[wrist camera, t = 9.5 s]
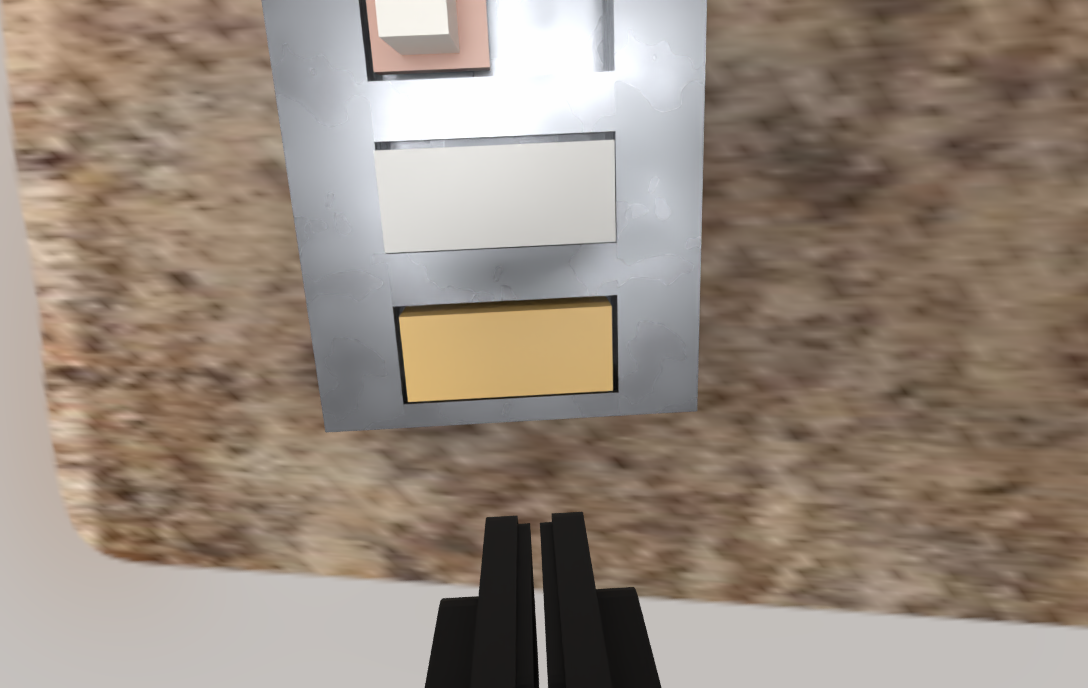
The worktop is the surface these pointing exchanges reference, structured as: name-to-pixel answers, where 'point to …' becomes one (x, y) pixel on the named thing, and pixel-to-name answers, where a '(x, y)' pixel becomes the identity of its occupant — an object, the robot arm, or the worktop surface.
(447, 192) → the white button
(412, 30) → the slider lever
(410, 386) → the amber button
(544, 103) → the control panel
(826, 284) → the worktop surface
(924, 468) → the worktop surface
